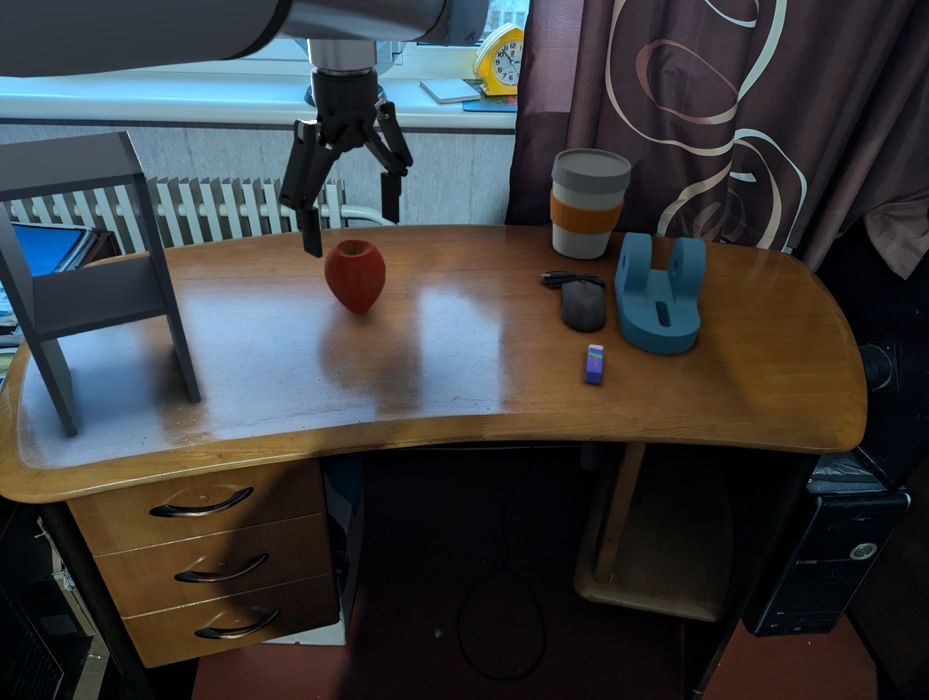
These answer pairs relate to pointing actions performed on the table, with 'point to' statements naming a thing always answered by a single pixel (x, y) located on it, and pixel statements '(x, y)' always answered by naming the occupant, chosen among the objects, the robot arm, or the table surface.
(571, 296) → the computer mouse
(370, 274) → the apple
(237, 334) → the table surface
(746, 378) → the table surface
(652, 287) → the bracket
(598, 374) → the eraser
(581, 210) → the reusable coffee cup
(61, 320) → the shelf
